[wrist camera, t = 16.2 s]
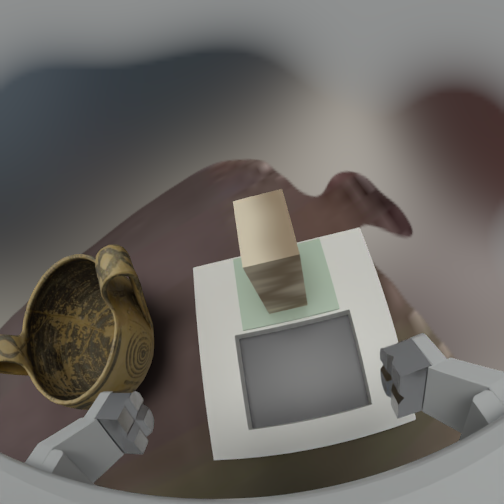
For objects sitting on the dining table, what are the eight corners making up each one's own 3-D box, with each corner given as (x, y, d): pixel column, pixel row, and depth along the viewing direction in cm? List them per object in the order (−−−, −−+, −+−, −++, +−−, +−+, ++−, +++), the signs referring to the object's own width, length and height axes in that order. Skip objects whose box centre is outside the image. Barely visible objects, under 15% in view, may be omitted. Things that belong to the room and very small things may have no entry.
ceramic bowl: (83, 434, 29) (-7, 425, 16) (56, 329, 38) (-18, 292, 25) (220, 369, 30) (147, 340, 18) (166, 256, 39) (103, 186, 26)
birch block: (269, 313, 30) (242, 267, 20) (260, 262, 33) (233, 201, 24) (307, 305, 29) (299, 254, 20) (295, 254, 32) (281, 189, 23)
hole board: (220, 457, 25) (212, 460, 23) (199, 274, 37) (192, 266, 35) (410, 418, 23) (416, 419, 21) (358, 236, 34) (359, 226, 32)
